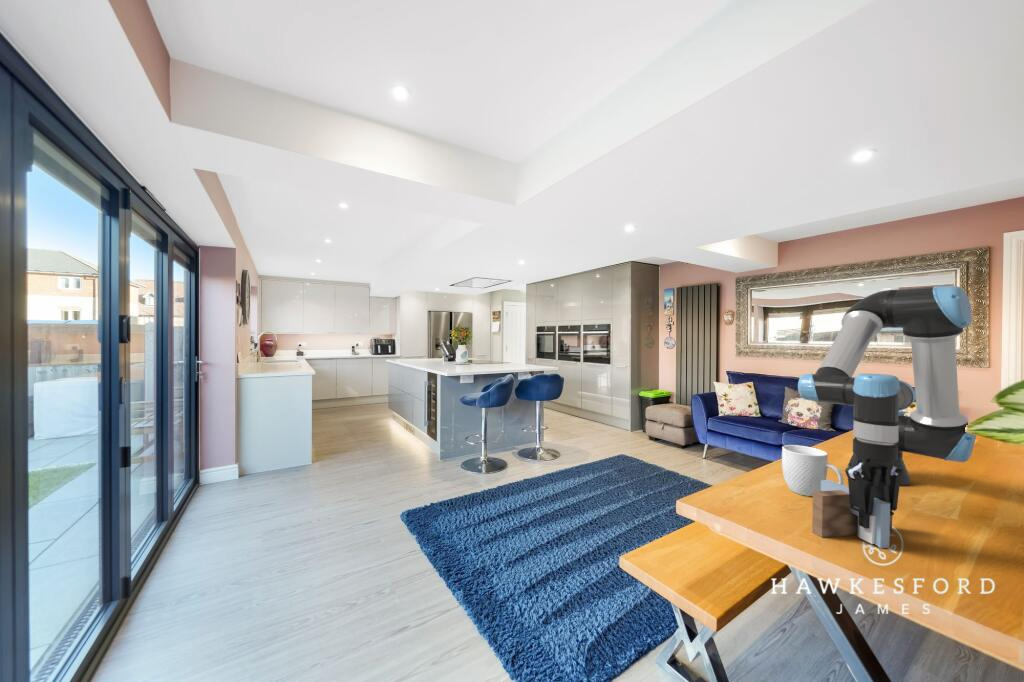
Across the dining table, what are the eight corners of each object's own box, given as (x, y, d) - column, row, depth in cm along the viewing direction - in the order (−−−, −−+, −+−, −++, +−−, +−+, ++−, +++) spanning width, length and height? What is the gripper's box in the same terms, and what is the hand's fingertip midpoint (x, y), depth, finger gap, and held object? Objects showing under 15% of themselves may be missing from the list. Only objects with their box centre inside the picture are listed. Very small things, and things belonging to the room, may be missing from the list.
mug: (849, 499, 109) (850, 455, 109) (836, 508, 103) (837, 462, 103) (789, 482, 122) (790, 442, 121) (775, 489, 116) (775, 448, 115)
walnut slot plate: (880, 526, 94) (881, 487, 93) (891, 531, 91) (892, 491, 91) (812, 532, 91) (813, 491, 90) (821, 537, 88) (822, 496, 88)
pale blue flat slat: (820, 517, 98) (821, 480, 97) (828, 517, 98) (828, 479, 98) (880, 548, 84) (881, 504, 84) (889, 547, 84) (890, 503, 84)
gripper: (884, 434, 91) (882, 529, 91) (830, 437, 89) (828, 534, 89) (922, 443, 83) (919, 546, 84) (864, 446, 81) (861, 552, 82)
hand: (872, 540), depth 86 cm, fingers closed on pale blue flat slat, 2 cm apart
